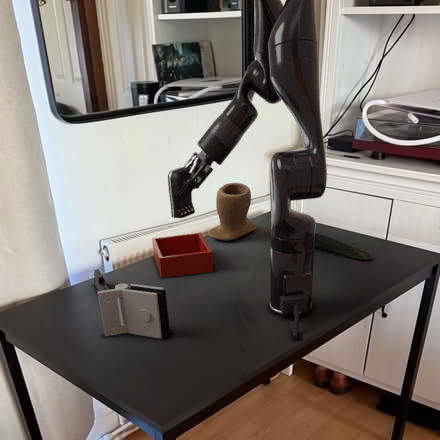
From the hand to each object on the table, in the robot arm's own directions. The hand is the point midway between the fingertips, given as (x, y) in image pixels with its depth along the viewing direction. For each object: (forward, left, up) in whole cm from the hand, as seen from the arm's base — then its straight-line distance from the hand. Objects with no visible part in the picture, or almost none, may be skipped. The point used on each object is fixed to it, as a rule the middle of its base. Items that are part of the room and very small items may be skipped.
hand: (177, 194), depth 140 cm
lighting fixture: (-15, +21, -19) cm, 32 cm away
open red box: (+1, 0, -19) cm, 19 cm away
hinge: (-35, +16, -19) cm, 43 cm away
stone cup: (+18, -19, -19) cm, 32 cm away
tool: (-1, -40, -19) cm, 44 cm away
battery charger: (0, -2, -6) cm, 6 cm away
